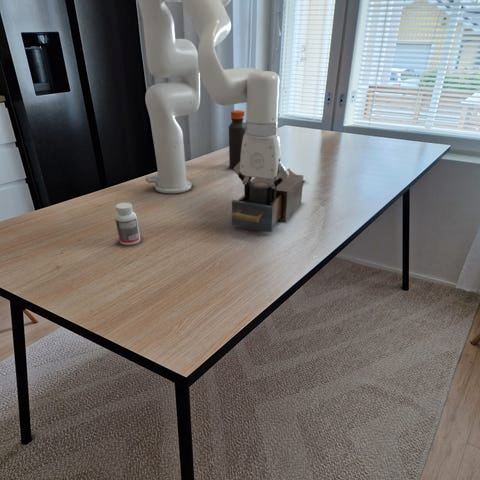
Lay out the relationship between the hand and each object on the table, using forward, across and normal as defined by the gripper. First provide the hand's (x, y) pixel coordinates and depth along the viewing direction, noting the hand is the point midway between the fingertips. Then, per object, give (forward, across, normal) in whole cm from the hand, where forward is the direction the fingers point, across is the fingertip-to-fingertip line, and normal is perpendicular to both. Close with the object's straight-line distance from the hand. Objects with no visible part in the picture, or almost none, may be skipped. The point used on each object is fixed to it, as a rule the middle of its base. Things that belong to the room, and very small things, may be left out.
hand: (260, 199), depth 112 cm
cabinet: (+7, 0, +12) cm, 14 cm away
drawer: (+6, 0, -1) cm, 6 cm away
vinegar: (+7, -28, +48) cm, 56 cm away
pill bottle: (+7, -27, -24) cm, 37 cm away
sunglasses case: (+7, -4, +33) cm, 34 cm away
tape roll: (+1, 0, 0) cm, 1 cm away
